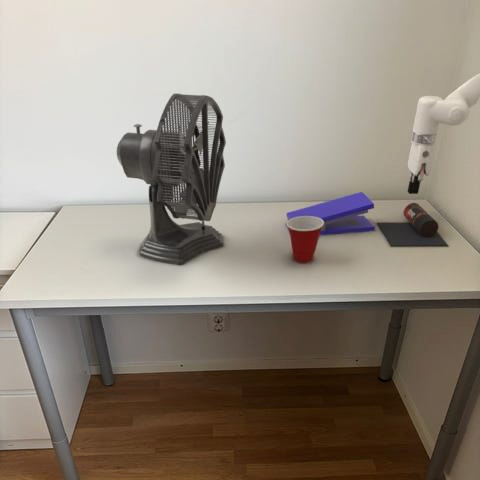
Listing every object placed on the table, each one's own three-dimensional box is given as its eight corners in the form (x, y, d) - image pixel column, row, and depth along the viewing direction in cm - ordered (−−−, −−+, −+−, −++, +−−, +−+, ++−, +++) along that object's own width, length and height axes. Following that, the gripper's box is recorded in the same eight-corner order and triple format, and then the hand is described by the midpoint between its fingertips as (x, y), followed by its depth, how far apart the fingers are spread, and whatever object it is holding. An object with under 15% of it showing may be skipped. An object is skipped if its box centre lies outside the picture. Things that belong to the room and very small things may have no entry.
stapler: (375, 231, 171) (379, 202, 166) (294, 237, 167) (296, 208, 161) (361, 217, 180) (365, 190, 175) (284, 223, 176) (286, 195, 170)
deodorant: (417, 219, 179) (434, 238, 167) (401, 218, 178) (417, 236, 166) (422, 203, 176) (441, 221, 164) (406, 202, 175) (423, 219, 163)
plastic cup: (292, 247, 160) (295, 211, 154) (325, 255, 156) (329, 218, 149) (278, 262, 152) (280, 224, 146) (312, 270, 148) (316, 231, 141)
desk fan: (267, 261, 152) (273, 100, 127) (163, 288, 139) (147, 114, 114) (215, 221, 177) (212, 79, 151) (123, 241, 163) (102, 88, 138)
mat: (429, 223, 177) (429, 222, 176) (447, 246, 162) (447, 245, 162) (377, 223, 176) (377, 222, 176) (391, 246, 161) (391, 245, 161)
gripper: (443, 144, 159) (430, 201, 169) (427, 132, 172) (416, 185, 182) (419, 144, 159) (407, 201, 169) (405, 132, 171) (395, 185, 182)
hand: (412, 192), depth 176 cm, fingers closed
